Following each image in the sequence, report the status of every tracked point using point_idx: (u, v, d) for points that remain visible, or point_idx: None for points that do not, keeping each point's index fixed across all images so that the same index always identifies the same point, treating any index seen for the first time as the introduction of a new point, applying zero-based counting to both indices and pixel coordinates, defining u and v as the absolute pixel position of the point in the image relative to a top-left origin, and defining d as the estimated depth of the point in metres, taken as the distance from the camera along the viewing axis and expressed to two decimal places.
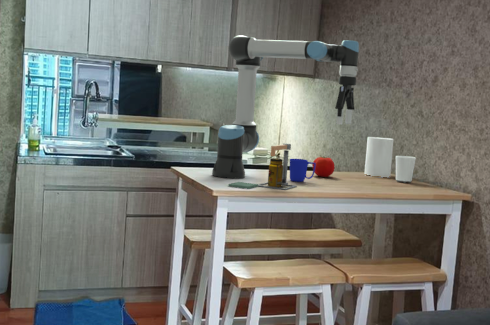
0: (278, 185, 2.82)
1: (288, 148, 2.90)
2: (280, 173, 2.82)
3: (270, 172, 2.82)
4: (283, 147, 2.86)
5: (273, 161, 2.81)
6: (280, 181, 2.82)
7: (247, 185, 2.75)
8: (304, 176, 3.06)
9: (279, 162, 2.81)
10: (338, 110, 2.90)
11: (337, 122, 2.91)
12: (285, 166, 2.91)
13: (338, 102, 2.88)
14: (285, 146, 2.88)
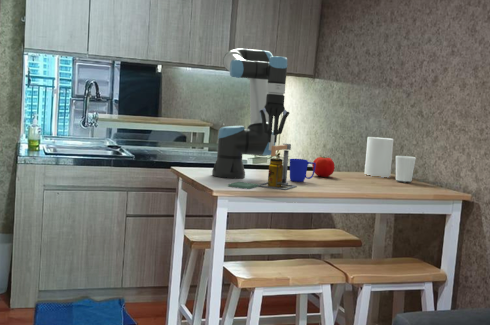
0: (278, 185, 2.82)
1: (288, 148, 2.90)
2: (280, 173, 2.82)
3: (270, 172, 2.82)
4: (283, 147, 2.86)
5: (273, 161, 2.81)
6: (280, 181, 2.82)
7: (247, 185, 2.75)
8: (304, 176, 3.06)
9: (279, 162, 2.81)
10: (267, 135, 2.80)
11: (269, 148, 2.81)
12: (285, 166, 2.91)
13: (263, 128, 2.79)
14: (285, 146, 2.88)
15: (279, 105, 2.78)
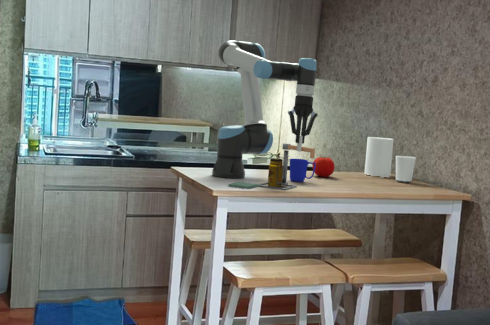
0: (278, 185, 2.82)
1: None
2: (280, 173, 2.82)
3: (270, 172, 2.82)
4: None
5: (273, 161, 2.81)
6: (280, 181, 2.82)
7: (247, 185, 2.75)
8: (304, 176, 3.06)
9: (279, 162, 2.81)
10: (296, 136, 2.83)
11: (297, 149, 2.84)
12: (285, 166, 2.91)
13: (292, 129, 2.82)
14: None
15: (308, 106, 2.81)
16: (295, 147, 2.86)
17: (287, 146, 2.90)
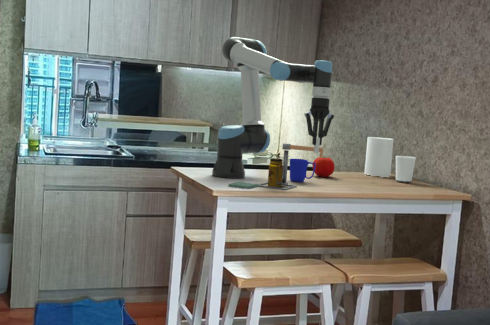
0: (278, 185, 2.82)
1: None
2: (280, 173, 2.82)
3: (270, 172, 2.82)
4: None
5: (273, 161, 2.81)
6: (280, 181, 2.82)
7: (247, 185, 2.75)
8: (304, 176, 3.06)
9: (279, 162, 2.81)
10: None
11: (314, 150, 2.86)
12: (285, 166, 2.91)
13: (308, 130, 2.84)
14: None
15: (324, 108, 2.83)
16: (300, 147, 2.89)
17: (289, 146, 2.90)
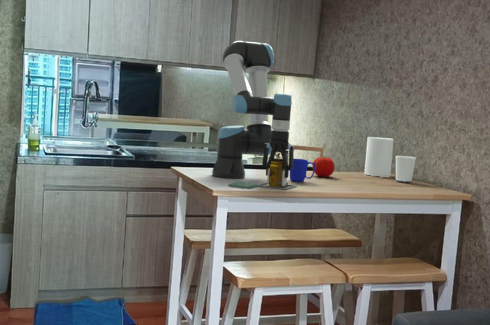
0: (279, 185, 2.82)
1: None
2: (281, 173, 2.82)
3: (271, 172, 2.82)
4: None
5: (274, 161, 2.81)
6: (281, 181, 2.82)
7: (247, 185, 2.75)
8: (304, 176, 3.06)
9: (280, 162, 2.81)
10: None
11: None
12: None
13: None
14: None
15: (281, 142, 2.82)
16: (300, 147, 2.89)
17: None
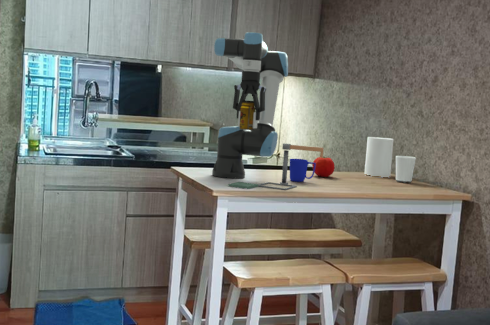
0: (249, 127, 2.72)
1: None
2: (252, 115, 2.72)
3: (242, 114, 2.73)
4: None
5: (245, 102, 2.72)
6: (252, 123, 2.73)
7: (247, 185, 2.75)
8: (304, 176, 3.06)
9: (251, 103, 2.72)
10: None
11: None
12: (285, 166, 2.91)
13: None
14: None
15: (252, 83, 2.72)
16: (300, 147, 2.89)
17: (289, 146, 2.90)
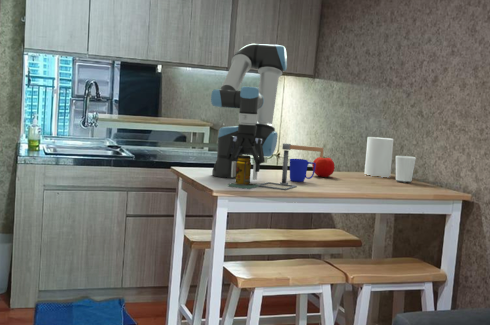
0: (245, 182, 2.75)
1: None
2: (248, 170, 2.75)
3: (238, 169, 2.75)
4: None
5: (241, 158, 2.74)
6: (248, 178, 2.75)
7: (247, 185, 2.75)
8: (304, 176, 3.06)
9: (247, 159, 2.74)
10: None
11: None
12: (285, 166, 2.91)
13: None
14: None
15: (248, 137, 2.75)
16: (300, 147, 2.89)
17: (289, 146, 2.90)
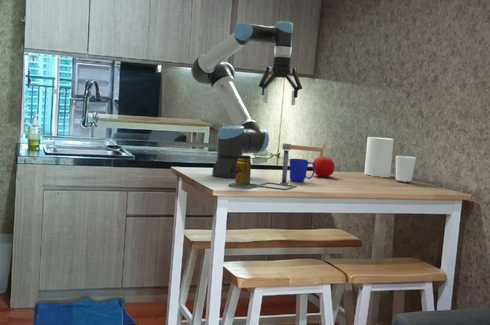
0: (245, 182, 2.75)
1: None
2: (248, 170, 2.75)
3: (238, 169, 2.75)
4: None
5: (241, 158, 2.74)
6: (248, 178, 2.75)
7: (247, 185, 2.75)
8: (304, 176, 3.06)
9: (247, 159, 2.74)
10: None
11: None
12: (285, 166, 2.91)
13: None
14: None
15: (283, 69, 2.99)
16: (300, 147, 2.89)
17: (289, 146, 2.90)
